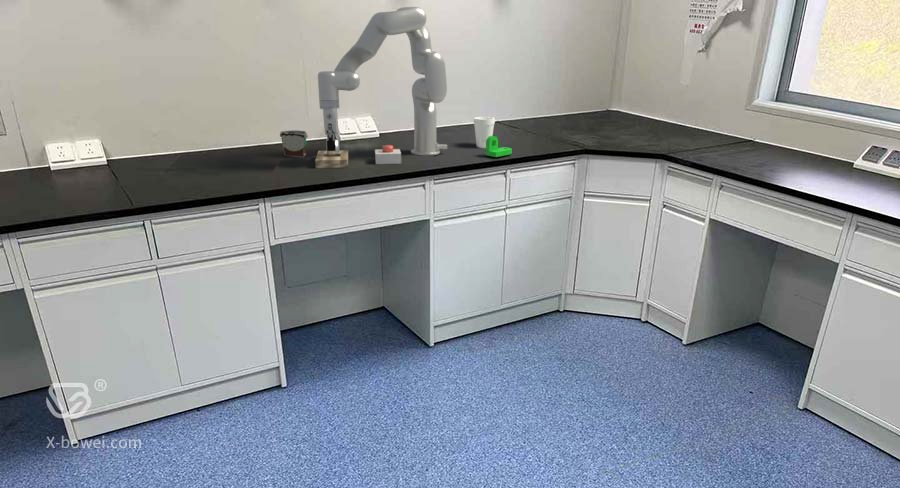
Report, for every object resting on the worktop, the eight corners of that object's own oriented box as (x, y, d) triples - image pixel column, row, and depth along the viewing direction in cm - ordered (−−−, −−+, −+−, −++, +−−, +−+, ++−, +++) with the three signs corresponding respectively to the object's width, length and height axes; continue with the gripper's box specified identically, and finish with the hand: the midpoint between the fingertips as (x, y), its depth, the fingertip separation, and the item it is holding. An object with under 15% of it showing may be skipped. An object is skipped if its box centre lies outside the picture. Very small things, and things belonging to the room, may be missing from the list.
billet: (340, 158, 242) (339, 139, 240) (338, 161, 237) (338, 140, 235) (327, 158, 242) (327, 138, 239) (325, 160, 237) (325, 140, 234)
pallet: (348, 157, 250) (348, 150, 249) (347, 167, 231) (347, 159, 230) (318, 158, 248) (318, 150, 247) (315, 168, 230) (315, 160, 229)
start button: (392, 149, 244) (392, 145, 243) (393, 151, 240) (393, 147, 239) (382, 150, 243) (381, 145, 243) (382, 152, 239) (382, 147, 239)
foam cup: (483, 149, 269) (483, 120, 265) (469, 146, 276) (469, 118, 272) (498, 147, 275) (499, 118, 271) (483, 144, 282) (484, 116, 278)
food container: (314, 155, 255) (313, 131, 251) (307, 157, 249) (305, 133, 246) (289, 153, 258) (287, 129, 255) (281, 155, 253) (279, 131, 250)
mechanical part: (496, 157, 254) (496, 138, 252) (485, 155, 259) (486, 136, 256) (514, 153, 262) (515, 135, 260) (504, 151, 266) (504, 133, 264)
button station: (399, 158, 248) (399, 149, 247) (401, 163, 239) (401, 153, 238) (375, 159, 247) (374, 149, 246) (376, 164, 238) (375, 154, 236)
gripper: (338, 107, 225) (341, 152, 231) (339, 102, 241) (342, 144, 247) (318, 107, 224) (321, 152, 230) (320, 102, 240) (323, 145, 246)
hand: (331, 148), depth 238 cm, fingers open, 9 cm apart
